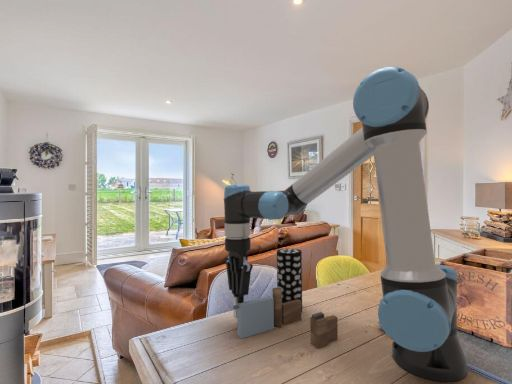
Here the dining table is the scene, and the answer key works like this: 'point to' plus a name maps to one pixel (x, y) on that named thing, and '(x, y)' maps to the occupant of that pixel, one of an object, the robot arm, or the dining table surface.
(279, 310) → the pair of brown blocks
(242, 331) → the gate
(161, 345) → the dining table surface
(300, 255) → the white-spotted black cylinder
